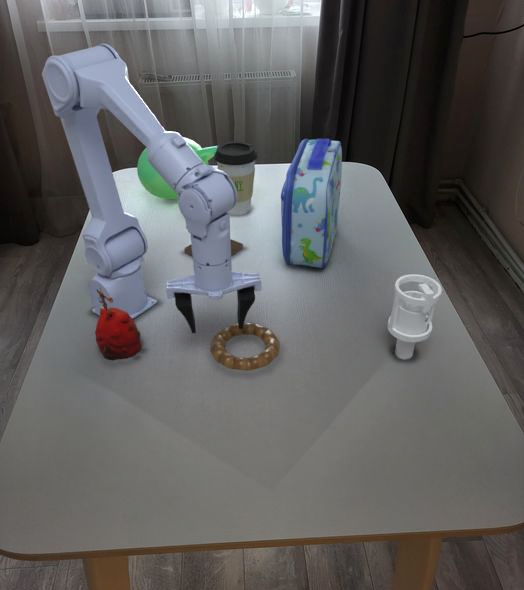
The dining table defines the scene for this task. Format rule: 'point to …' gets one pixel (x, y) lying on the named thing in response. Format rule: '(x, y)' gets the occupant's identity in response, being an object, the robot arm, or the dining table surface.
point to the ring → (245, 363)
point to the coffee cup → (238, 171)
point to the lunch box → (311, 203)
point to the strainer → (412, 313)
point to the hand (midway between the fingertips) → (217, 327)
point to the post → (234, 248)
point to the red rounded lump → (116, 332)
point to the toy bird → (156, 182)
